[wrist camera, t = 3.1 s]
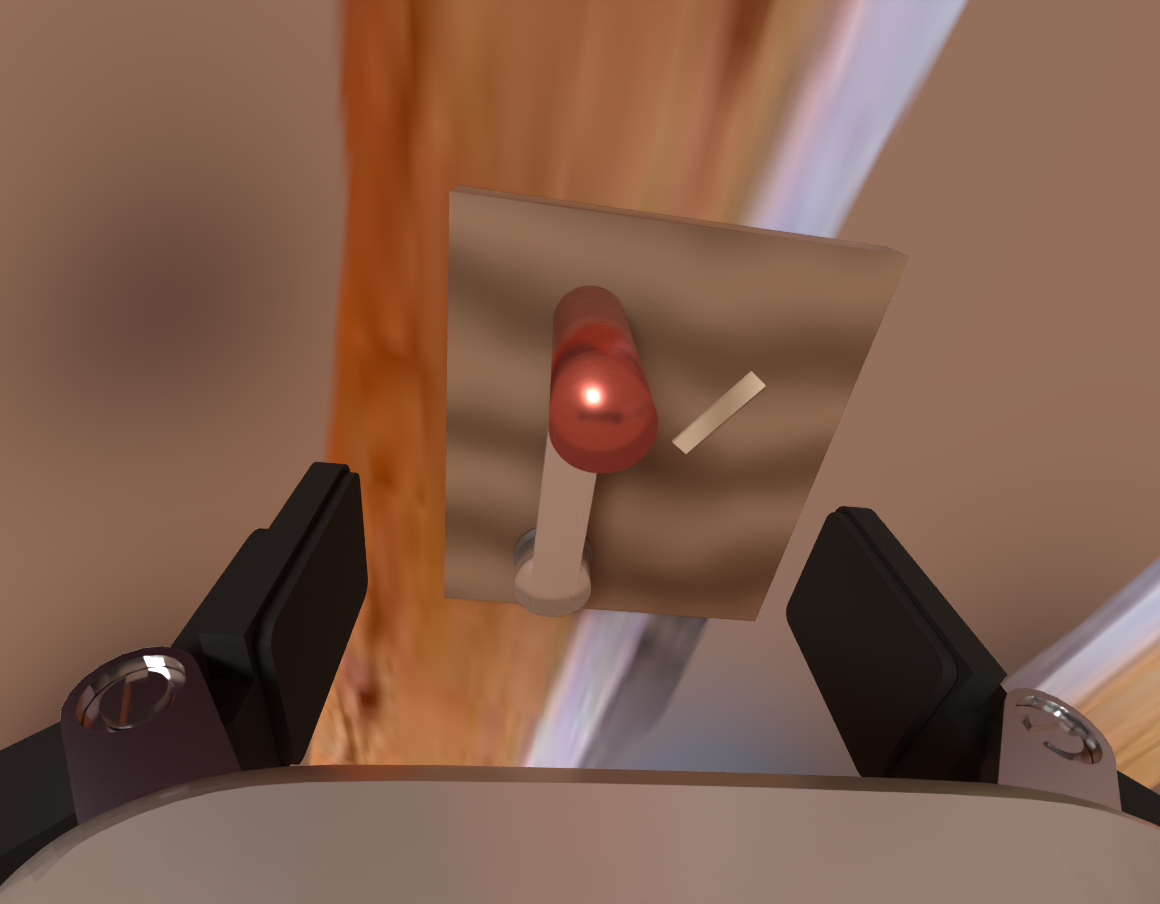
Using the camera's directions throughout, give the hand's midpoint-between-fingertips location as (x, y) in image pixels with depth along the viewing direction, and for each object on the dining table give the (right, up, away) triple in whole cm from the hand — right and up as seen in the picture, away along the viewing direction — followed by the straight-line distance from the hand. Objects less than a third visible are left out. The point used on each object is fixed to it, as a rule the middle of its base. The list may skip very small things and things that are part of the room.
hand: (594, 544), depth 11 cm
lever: (-1, +2, +16) cm, 16 cm away
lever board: (+3, +3, +19) cm, 19 cm away
